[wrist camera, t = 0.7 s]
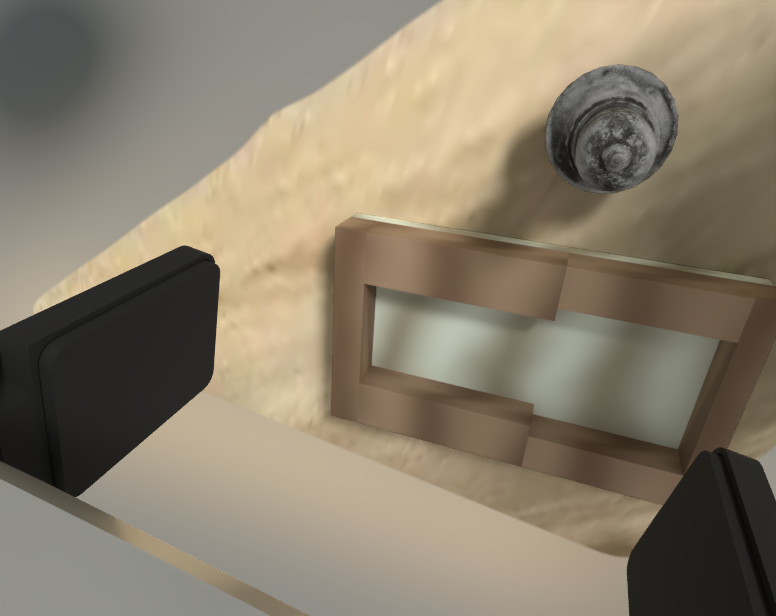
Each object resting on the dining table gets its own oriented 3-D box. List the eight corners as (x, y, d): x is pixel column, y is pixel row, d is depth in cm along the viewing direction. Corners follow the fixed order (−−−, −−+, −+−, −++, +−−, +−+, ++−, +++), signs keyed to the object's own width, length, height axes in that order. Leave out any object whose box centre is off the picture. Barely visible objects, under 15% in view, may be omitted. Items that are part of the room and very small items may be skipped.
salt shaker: (690, 81, 27) (755, 95, 16) (637, 193, 30) (664, 266, 19) (573, 50, 28) (565, 46, 17) (533, 161, 31) (506, 214, 20)
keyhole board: (769, 279, 29) (790, 304, 26) (688, 475, 35) (698, 514, 32) (356, 212, 35) (335, 227, 32) (349, 389, 41) (331, 415, 38)
